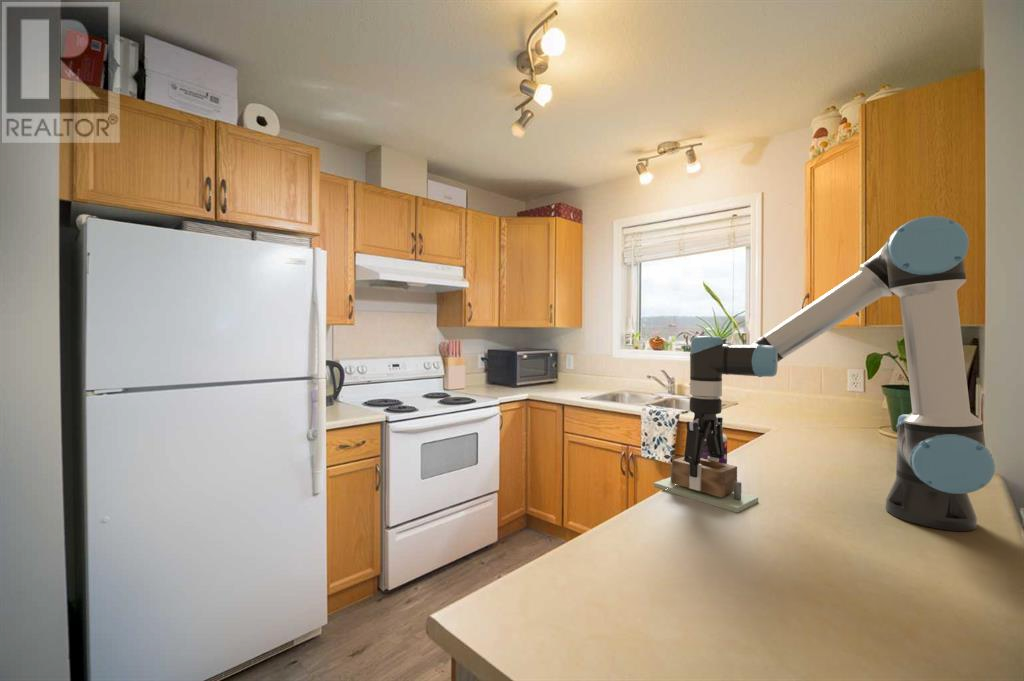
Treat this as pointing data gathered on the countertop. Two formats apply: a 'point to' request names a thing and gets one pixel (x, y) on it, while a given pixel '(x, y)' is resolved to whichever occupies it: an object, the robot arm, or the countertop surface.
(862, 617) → the countertop surface
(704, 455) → the pill bottle
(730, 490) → the frame
